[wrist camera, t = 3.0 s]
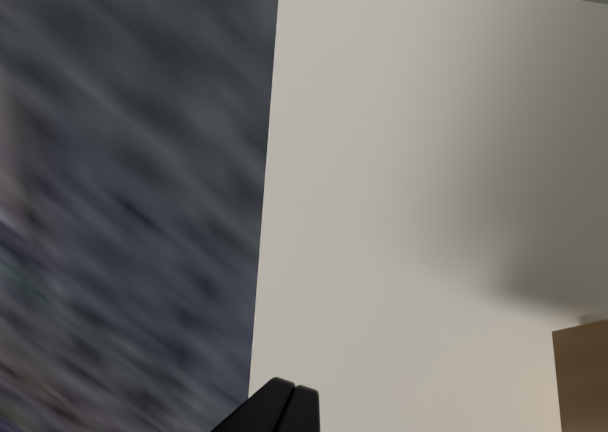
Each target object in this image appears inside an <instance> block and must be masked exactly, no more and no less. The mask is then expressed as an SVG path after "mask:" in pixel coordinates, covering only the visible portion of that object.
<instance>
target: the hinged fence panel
mask: <svg viewBox="0 0 608 432" xmlns="http://www.w3.org/2000/svg"><path fill="white" fill-rule="evenodd" d="M552 340H553V350H554V360H555V370H556V380H557V390H558V400H559V410H560V420H561V430H562V432H608V319H606V320H601V321H597V322H592V323H588V324H583V325H579V326H574V327H570V328H565V329H561V330H556V331H552Z"/></svg>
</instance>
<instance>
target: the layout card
mask: <svg viewBox="0 0 608 432" xmlns="http://www.w3.org/2000/svg"><path fill="white" fill-rule="evenodd" d="M606 319H608V0H279V1H278V15H277V28H276V41H275V54H274V68H273V81H272V94H271V107H270V120H269V134H268V147H267V160H266V173H265V187H264V200H263V213H262V226H261V240H260V253H259V266H258V279H257V293H256V306H255V319H254V332H253V346H252V359H251V372H250V385H249V398H250V397H251V396H252V395H253V394H254V393H255V392H256V391H258V390H259V389H260V388H261V387H262V386H263V385H264V384H266V383H267V382H268V381H269V380H270V379H272V378H274V377H279V378H282V379H285V380H288V381H291V382H293V383H295V385H296V386H297V385H303V386H306V387H309V388H312V389H315V390H317V391H318V393H319V404H320V432H562V430H561V420H560V410H559V400H558V390H557V380H556V370H555V360H554V350H553V340H552V331H556V330H561V329H565V328H570V327H574V326H579V325H583V324H588V323H592V322H597V321H601V320H606Z"/></svg>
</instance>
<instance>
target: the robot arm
mask: <svg viewBox="0 0 608 432" xmlns="http://www.w3.org/2000/svg"><path fill="white" fill-rule="evenodd" d="M210 432H320V404H319V393H318V391H317V390H315V389H312V388H309V387H306V386H303V385H297V386H296V385H295V383H293V382H291V381H288V380H285V379H282V378H279V377H274V378H272V379H270V380H269V381H268V382H267V383H266V384H264V385H263V386H262V387H261V388H260V389H259V390H258V391H256V392H255V393H254V394H253V395H252V396H251V397H250V398H248V399H247V400H246V401H245V402H244V403H243V404H241V405H240V406H239V407H238V408H237V409H236V410H235V411H233V412H232V413H231V414H230V415H229V416H228V417H226V418H225V419H224V420H223V421H222V422H221V423H220V424H218V425H217V426H216V427H215V428H214V429H213V430H212V431H210Z"/></svg>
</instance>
